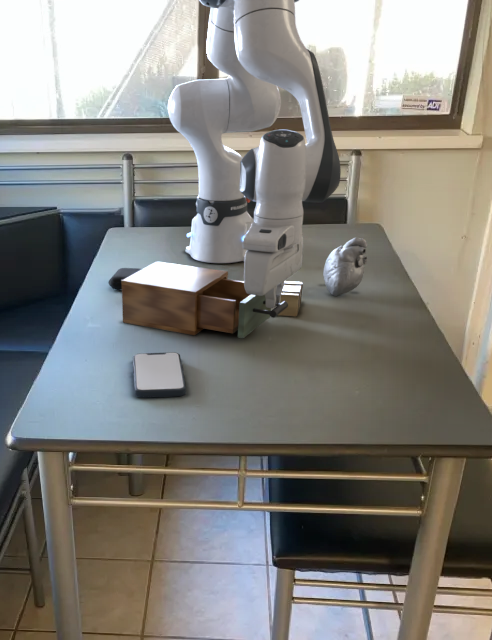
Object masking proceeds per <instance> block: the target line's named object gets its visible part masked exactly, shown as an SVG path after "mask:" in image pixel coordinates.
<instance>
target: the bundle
mask: <svg viewBox="0 0 492 640" xmlns="http://www.w3.org/2000/svg"><path fill="white" fill-rule="evenodd" d="M303 286H304V282H303V281H291V280H285V282H284V287H283V290H282V293H281V300H280V303H282V302H283V301H286V302H287V303H288V307H287V308H286V309H284V310H283V311H282V312H281V313H279V314H278V315H277V316H282V317H283V316H284V317H297V316H298V314H299V312H300V311H299V310H300V307H301V305H302V296H303V288H304V287H303Z"/></svg>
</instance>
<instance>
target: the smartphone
mask: <svg viewBox="0 0 492 640" xmlns="http://www.w3.org/2000/svg"><path fill="white" fill-rule="evenodd" d="M132 373H133V384H134V395H135V397H138V398H140V399H141V398H144V399H145V398H166V397H167V398H169V397H182V396H185V395H186V392H187V386H186V381H185V376H184V368H183V364H182V357H181V354H180V353H179V352H176V351H172V352H171V351H170V352H169V351H168V352H144V353H143V352H141V353H135V354H134V355H132Z"/></svg>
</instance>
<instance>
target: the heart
mask: <svg viewBox="0 0 492 640" xmlns="http://www.w3.org/2000/svg"><path fill="white" fill-rule="evenodd" d="M367 248H368V242H367V241H366V239H365V238H359V237H353V238H352V239H350V240H348V241H346V242H345V243H344V245H340V246H338V247H337V248H334V249H333V250H332V251H331V252H330V253H329V255H328V256H327V258H326V260H325V264H324V267H323V273H322V274H323V280H324V284H325V287H326V289H327V291H328V293H330V294H331V295H332V296H336V297H337V296H341V295H344V294H347V293H349V292H351V291H354V289H355V290H356V288H357V287H359V285H360V283H361V282H362V281H363V279H364V274H365V266H364V265H366V264H367V262H368V256H366V254H367V250H366V249H367Z"/></svg>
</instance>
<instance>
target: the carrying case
mask: <svg viewBox="0 0 492 640" xmlns="http://www.w3.org/2000/svg"><path fill="white" fill-rule="evenodd" d="M142 269H143V268H139V267H138V268H137V267H121V268H119V269H117V271H116V272H115V273H114V274H113V275H112V276H111V278H110V279H109V280H108V285H109V286H110V287H111V288H112V289H113V290H115V291H122V283H121V281H122V280H123V279H125V278H127V277H129V276H131V275H133V274H135V273H136V272H138V271H140V270H142Z"/></svg>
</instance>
